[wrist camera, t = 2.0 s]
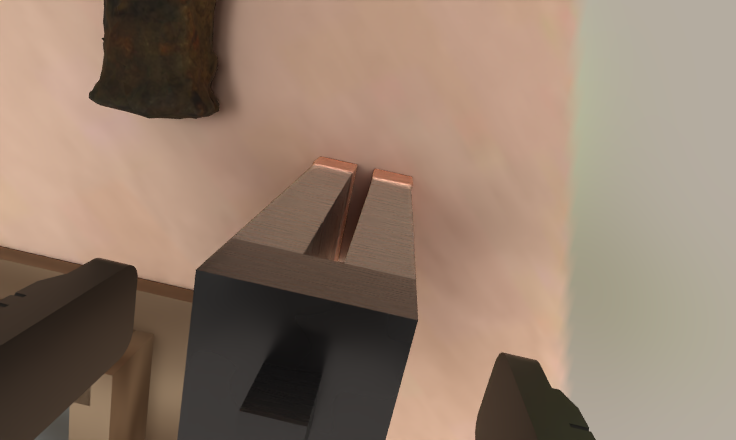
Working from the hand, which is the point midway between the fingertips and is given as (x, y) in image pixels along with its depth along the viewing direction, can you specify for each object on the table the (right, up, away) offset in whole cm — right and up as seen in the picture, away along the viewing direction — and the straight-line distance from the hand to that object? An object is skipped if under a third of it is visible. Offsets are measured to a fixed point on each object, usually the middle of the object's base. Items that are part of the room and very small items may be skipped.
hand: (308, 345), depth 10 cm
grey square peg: (+1, +3, +9) cm, 9 cm away
